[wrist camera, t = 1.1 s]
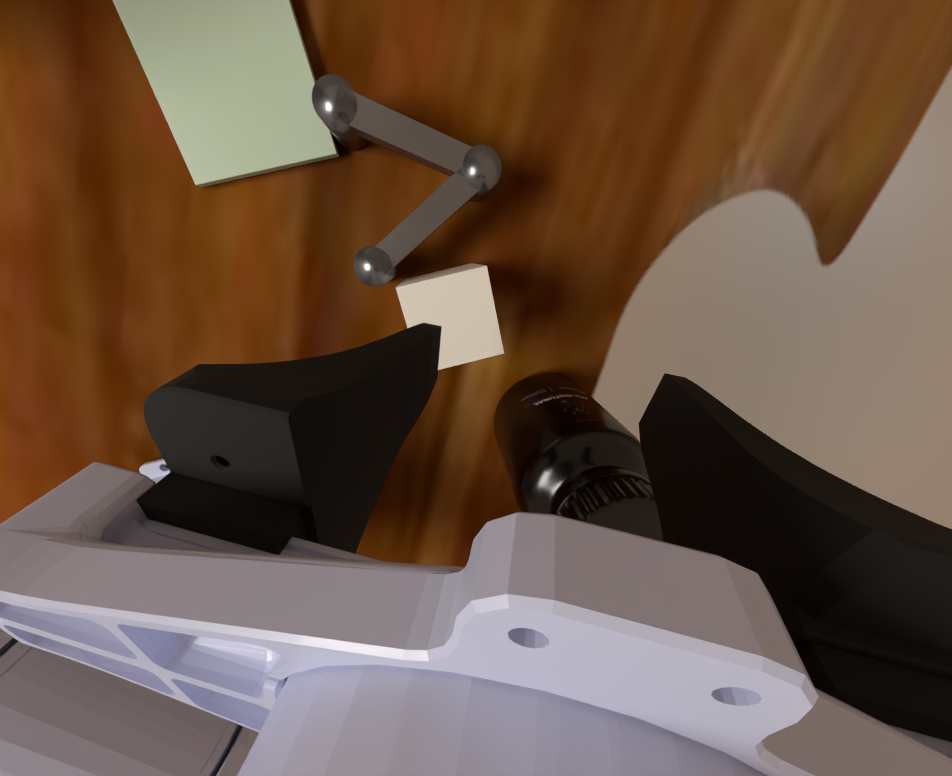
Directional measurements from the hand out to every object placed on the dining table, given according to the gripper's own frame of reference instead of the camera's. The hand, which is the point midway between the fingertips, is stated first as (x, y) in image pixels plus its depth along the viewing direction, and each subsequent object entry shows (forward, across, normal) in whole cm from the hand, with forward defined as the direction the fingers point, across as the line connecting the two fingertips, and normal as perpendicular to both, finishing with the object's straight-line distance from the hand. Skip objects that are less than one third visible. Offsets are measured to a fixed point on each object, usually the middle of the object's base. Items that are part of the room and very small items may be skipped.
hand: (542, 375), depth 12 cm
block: (+10, +6, +2) cm, 12 cm away
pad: (+9, +16, -6) cm, 20 cm away
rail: (+11, +8, -3) cm, 14 cm away
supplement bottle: (+10, -2, +9) cm, 14 cm away
